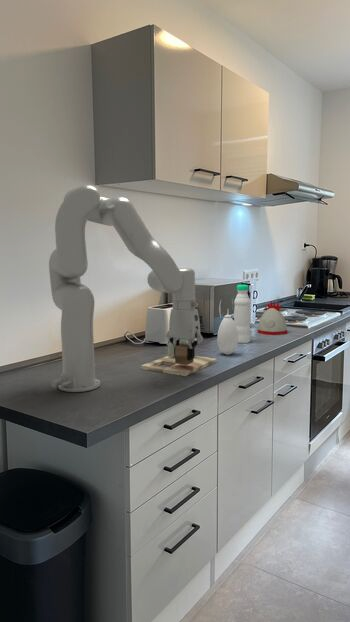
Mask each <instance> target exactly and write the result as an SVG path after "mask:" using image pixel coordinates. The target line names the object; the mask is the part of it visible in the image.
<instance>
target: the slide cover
mask: <svg viewBox="0 0 350 622" xmlns="http://www.w3.org/2000/svg"><path fill="white" fill-rule="evenodd" d="M196 340H197V338H195V341H196ZM180 344H188V341H187V340H186V339H181V340H180ZM167 356H168V357H171V356H174V347H173V345H172V343H171V342H170V340H169V339H168V338H167Z"/></svg>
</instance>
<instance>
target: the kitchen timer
mask: <svg viewBox="0 0 350 622" xmlns="http://www.w3.org/2000/svg"><path fill="white" fill-rule="evenodd" d="M264 308H265V311H264V313H262V315H261V316H260V319H259V322H258V326H257V333H258V334H260V335H264V336H265V335H266V336H267V335H268V336H282V335H286V334H288V325H287V322H286V319H285V317H284V314H282V312H281V311H280V310H281V308H282V304H280V303H279V301H278V302H277V303H276V302H275V301H270V303H267V306H266V305H264Z"/></svg>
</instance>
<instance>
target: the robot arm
mask: <svg viewBox="0 0 350 622" xmlns="http://www.w3.org/2000/svg"><path fill="white" fill-rule="evenodd" d="M54 221H55V222H54V223H55V224H54V233H55V249H54V250H53V251H52V252H51V254H50V257H49V260H48V270H49V271H48V273H49V280H50V282H49V283H50V290H51V297H52V301H53V303H54V305H55V306H56V308H58V309H59V310H61V318H60V337H61V355H62V356H61V358H62V359H61V360H62V361H61V362H62V373H60V376H59V378H58V379H54V380H52V381H51V382H50V384H51V387H52V388H57V387H58V389H59V390H61V391H64V392H69V393H79V392H82V393H83V392H88V391H92V390H96V389H98V388H99V387H100V385H101V380H100V379H98V378H97V377H96V374H95V372H96V371H95V347H94V345H95V343H94V339H95V338H94V313H95V296H94V294H93V292H92V291H91V289H90V288H89V286H86V285H85V284H83V283H82V282H81V277H82V276H84V275H85V274H86V272H87V270H88V266H89V264H88V256H87V255H88V254H87V243H86V225H87V221H88V222H91V223H95V224H99V225H103V226H110V227H113V228H114V229H115V231H116V232H117V234H118V235H119V237H120V238H121V241H123V244H124V245H125V247H126V248H127V250H128V251H129V252H130V253H132V255H134V257H136V258H138V259H140V260H141V261H143V262H144V263H145V264H146V265H148V267H149V268H150V269H151V271H150V272H149V273H148V275H147V281H146V282H147V284H148V286H149V288H151V289H152V290H153V291H157V292H161V293H168V294H172V308H171V310H170V314H169V323H168V325H169V326H168V331H167V333H166V334H165V338H167V340H168V339H169V340H170V342H171V343H172V345H173V347H174V355H175V346H176V345H179V344H180V340H181V339H186V340H187V341H188V345H189V348H188V360H192V359H194V356H196V354H195V349H196V347H197V346H198V345H199V344H200V343H202V342H203V340H204V337H203V335H202V334H201V323H200V315H199V311H198V309H196V308H197V307H198V306H199V303H198V302H196V274H195V270H194V269H193V268H188V267H187V268H186V267H185V268H184V267H183V268H181V267H178V265H177V263H176V262H175V260H174V259H173V258H172V255H170V254H169V253H168V251H167V250H166V249H165V248H164V247H163V246H162V245H161V244H160V243H159V242H158V241H157V240H156V239H155V238H154V237H153V236H152V234H151V232H150V231H149V229H148V227H147V226H146V224H145V222H144V221H143V219H142V217H141V216H140V214H139V213H138V211H137V209H136V208H135V206H134V205H133V203H132V201H130V200H129V199H128V198H126V197H124V196H122V197H121V196H118V197H113V198H109V197H102V196H101V194H100V191H99V190H98V189H97V188H96V187H94V186H92V185H88V184H86V185H85V184H84V185H80V186H78V187H76V188H73V189H71V190H69V191H67V192H66V194H65V195H64V198H63V201H62V203H61V204H60V206H59V208H58V211H57V213H56V217H55V220H54ZM195 339H197V340H196V341H195Z"/></svg>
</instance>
